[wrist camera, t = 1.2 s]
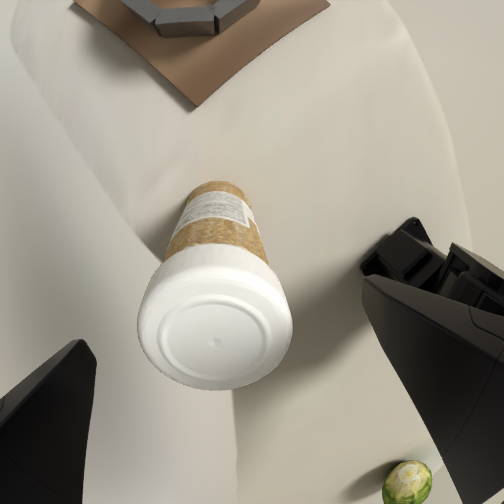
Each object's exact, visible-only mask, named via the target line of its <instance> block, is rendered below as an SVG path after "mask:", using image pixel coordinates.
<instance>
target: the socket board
mask: <svg viewBox="0 0 504 504" xmlns="http://www.w3.org/2000/svg"><path fill="white" fill-rule="evenodd" d="M73 1H75V2H76V3H77V4H79V5H80V6H81V7H83V8H84V9H85V10H86V11H88V12H89V13H90V14H92V15H93V16H94V17H95V18H97V19H98V20H99V21H100V22H102V23H103V24H104V25H105V26H107V27H108V28H109V29H110V30H112V31H113V32H114V33H115V34H116V35H118V36H119V37H120V38H121V39H122V40H124V41H125V42H126V43H127V44H128V45H129V46H131V47H132V48H133V49H134V50H135V51H136V52H138V53H139V54H140V55H141V56H142V57H143V58H145V59H146V60H147V61H148V62H149V63H150V64H151V65H152V66H154V67H155V68H156V69H157V70H158V71H159V72H160V73H161V74H162V75H164V76H165V77H166V78H167V79H168V80H169V81H170V82H171V83H172V84H173V85H174V86H176V87H177V88H178V89H179V90H180V91H181V92H182V93H183V94H184V95H185V96H186V97H187V98H188V99H189V100H190V101H192V102H193V103H194V104H195V105H196V106H197V107H199V106H200V105H201V104H202V103H203V102H204V101H205V100H206V99H207V98H208V97H209V96H211V95H212V94H213V93H214V92H215V91H216V90H217V89H218V88H219V87H221V86H222V85H223V84H224V83H225V82H226V81H228V80H229V79H230V78H231V77H232V76H233V75H235V74H236V73H237V72H238V71H239V70H241V69H242V68H243V67H244V66H246V65H247V64H248V63H249V62H251V61H252V60H253V59H254V58H256V57H257V56H258V55H260V54H261V53H262V52H263V51H265V50H266V49H267V48H269V47H270V46H271V45H273V44H274V43H275V42H277V41H278V40H280V39H281V38H282V37H284V36H285V35H287V34H288V33H289V32H291V31H292V30H294V29H295V28H297V27H298V26H300V25H301V24H303V23H304V22H306V21H307V20H309V19H310V18H312V17H313V16H315V15H317V14H318V13H320V12H321V11H323V10H325V9H326V8H328V7H329V6H330V5H331V4H330V3H329V2H328V1H327V0H260V3H259V4H258V6H257V8H256V9H254V10H253V11H251V12H250V13H249V14H247V15H246V16H244V17H243V18H241V19H240V20H239V21H237V22H236V23H235V24H233V25H232V26H230V27H229V28H228V29H226V30H225V31H224V32H223V33H221V34H218V33H217V32H216V31H215V36H203V37H179V38H164V37H163V35H162V36H161V37H159V36H158V35H157V34H156V33H154V32H153V31H152V30H151V29H150V28H148V27H147V26H146V25H145V24H143V23H142V22H141V21H140V20H138V19H137V18H136V17H134V16H133V15H132V14H131V13H130V12H129V11H128V10H127V9H126V8H125V6H124V5H123V4H122V3H121V2H120V1H119V0H73ZM149 1H151V2H152V3H153V4H155V5H156V6H157V7H159V8H160V9H170V8H183V7H210V6H212V5H213V4H215V3H216V2H217V1H219V0H149Z"/></svg>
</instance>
